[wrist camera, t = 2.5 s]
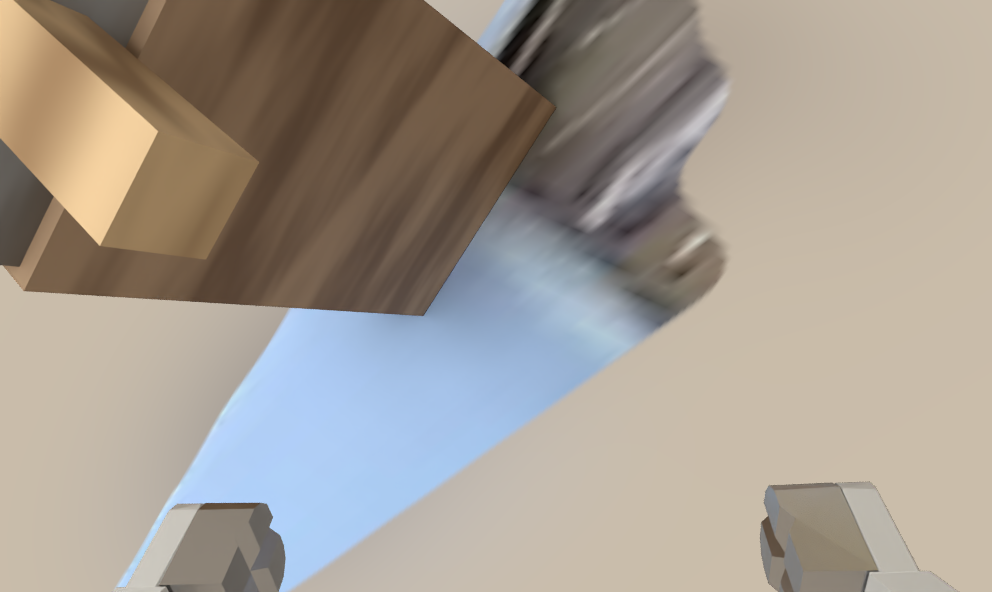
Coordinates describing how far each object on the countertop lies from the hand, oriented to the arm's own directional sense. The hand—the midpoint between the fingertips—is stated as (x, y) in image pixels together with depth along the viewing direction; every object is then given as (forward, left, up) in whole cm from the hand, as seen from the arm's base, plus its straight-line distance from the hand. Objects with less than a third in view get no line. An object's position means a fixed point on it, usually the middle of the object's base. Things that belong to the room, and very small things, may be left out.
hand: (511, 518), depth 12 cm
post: (+11, -19, -30) cm, 37 cm away
